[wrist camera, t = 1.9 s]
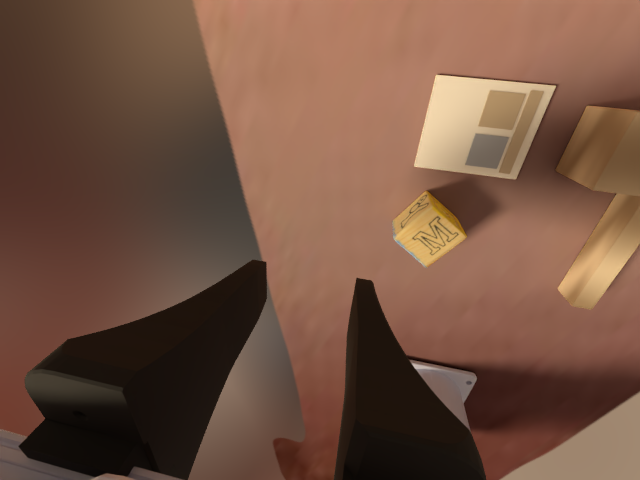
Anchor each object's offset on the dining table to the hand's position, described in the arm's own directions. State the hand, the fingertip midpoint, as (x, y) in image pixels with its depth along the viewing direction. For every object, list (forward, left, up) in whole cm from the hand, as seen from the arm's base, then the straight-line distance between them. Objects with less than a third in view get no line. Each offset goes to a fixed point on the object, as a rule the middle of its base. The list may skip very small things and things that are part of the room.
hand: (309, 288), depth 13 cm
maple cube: (+6, -14, -9) cm, 18 cm away
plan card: (+6, -8, -9) cm, 13 cm away
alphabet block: (0, -6, -10) cm, 11 cm away
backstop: (+2, -17, -9) cm, 19 cm away
